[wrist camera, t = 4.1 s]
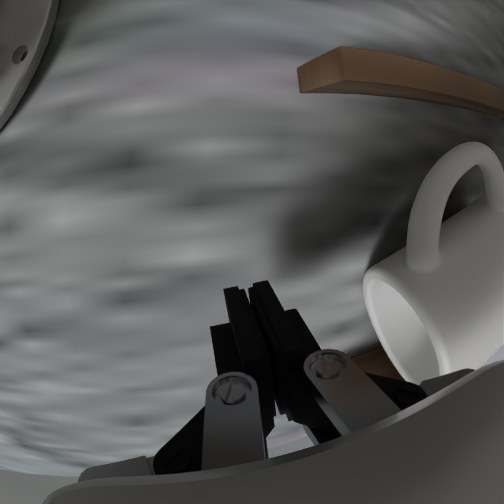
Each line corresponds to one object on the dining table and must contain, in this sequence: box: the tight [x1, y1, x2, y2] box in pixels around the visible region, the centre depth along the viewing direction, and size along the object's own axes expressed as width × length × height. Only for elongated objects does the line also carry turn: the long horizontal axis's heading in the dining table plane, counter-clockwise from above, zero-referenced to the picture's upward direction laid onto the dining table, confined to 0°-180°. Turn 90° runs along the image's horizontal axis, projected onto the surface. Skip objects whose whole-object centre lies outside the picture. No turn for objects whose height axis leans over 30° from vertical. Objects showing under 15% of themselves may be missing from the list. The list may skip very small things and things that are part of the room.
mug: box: [363, 142, 504, 385], centre depth 12 cm, size 12×10×8 cm
